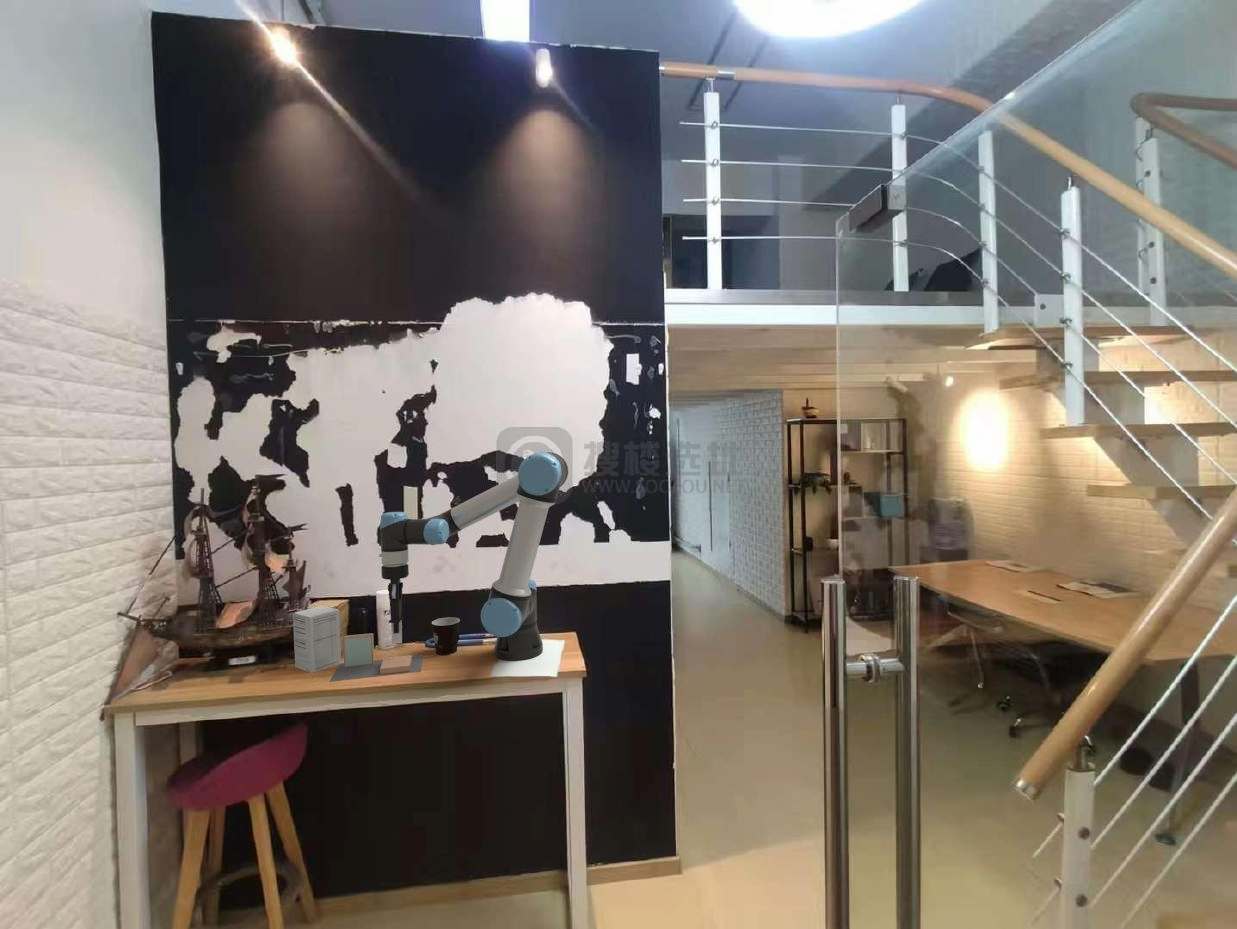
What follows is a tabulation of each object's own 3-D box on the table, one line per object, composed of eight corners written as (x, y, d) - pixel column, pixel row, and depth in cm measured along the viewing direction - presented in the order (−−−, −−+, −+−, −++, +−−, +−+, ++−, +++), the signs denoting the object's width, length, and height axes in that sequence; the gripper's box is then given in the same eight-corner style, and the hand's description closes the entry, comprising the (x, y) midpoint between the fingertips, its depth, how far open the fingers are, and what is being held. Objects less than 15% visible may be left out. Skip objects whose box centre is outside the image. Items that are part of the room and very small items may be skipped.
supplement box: (324, 658, 182) (323, 604, 182) (342, 664, 177) (340, 608, 177) (293, 668, 174) (291, 612, 174) (311, 674, 169) (309, 616, 169)
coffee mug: (432, 649, 189) (431, 619, 188) (459, 646, 191) (459, 616, 191) (432, 662, 178) (431, 629, 177) (461, 658, 180) (461, 626, 180)
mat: (423, 656, 183) (423, 655, 183) (420, 673, 169) (420, 671, 169) (339, 665, 176) (339, 663, 176) (329, 683, 163) (329, 681, 163)
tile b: (374, 662, 177) (373, 633, 177) (373, 664, 175) (372, 634, 175) (345, 665, 175) (344, 635, 174) (344, 667, 173) (343, 637, 173)
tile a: (412, 655, 178) (409, 665, 169) (412, 660, 178) (409, 671, 169) (383, 657, 176) (379, 668, 167) (383, 663, 176) (380, 674, 167)
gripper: (384, 561, 180) (386, 637, 180) (378, 569, 167) (380, 651, 168) (409, 559, 182) (411, 634, 182) (406, 567, 169) (408, 648, 170)
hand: (396, 642), depth 175 cm, fingers closed
